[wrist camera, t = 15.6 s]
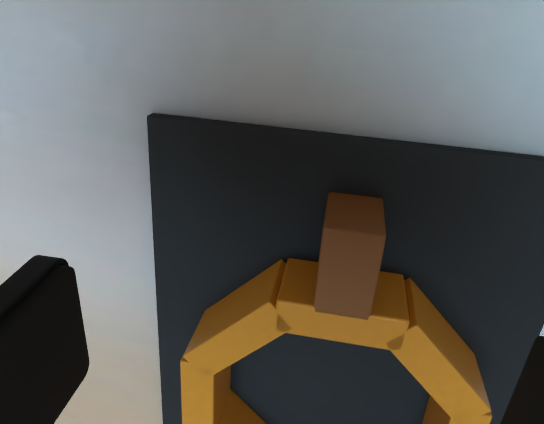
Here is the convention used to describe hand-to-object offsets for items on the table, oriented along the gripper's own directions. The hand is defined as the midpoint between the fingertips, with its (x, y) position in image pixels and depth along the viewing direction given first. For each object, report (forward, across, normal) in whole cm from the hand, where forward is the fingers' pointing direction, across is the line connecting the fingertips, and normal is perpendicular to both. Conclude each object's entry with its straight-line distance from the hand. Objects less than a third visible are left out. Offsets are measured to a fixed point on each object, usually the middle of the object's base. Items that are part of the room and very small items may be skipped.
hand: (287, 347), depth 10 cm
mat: (+9, -1, +9) cm, 13 cm away
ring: (+9, -1, +8) cm, 12 cm away
